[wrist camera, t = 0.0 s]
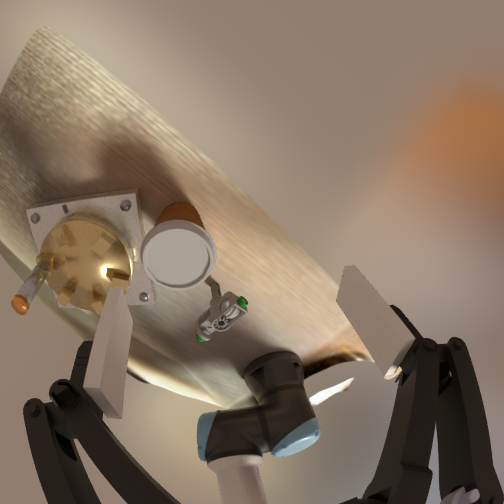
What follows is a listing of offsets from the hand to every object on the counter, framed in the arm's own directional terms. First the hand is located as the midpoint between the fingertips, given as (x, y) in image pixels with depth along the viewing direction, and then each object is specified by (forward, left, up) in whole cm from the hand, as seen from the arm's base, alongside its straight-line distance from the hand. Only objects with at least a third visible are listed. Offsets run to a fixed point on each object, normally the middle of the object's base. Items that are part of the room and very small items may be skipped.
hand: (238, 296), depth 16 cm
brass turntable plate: (-11, +21, -25) cm, 34 cm away
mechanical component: (-20, 0, -28) cm, 35 cm away
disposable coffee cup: (-7, +5, -28) cm, 29 cm away
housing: (-11, +21, -28) cm, 37 cm away
